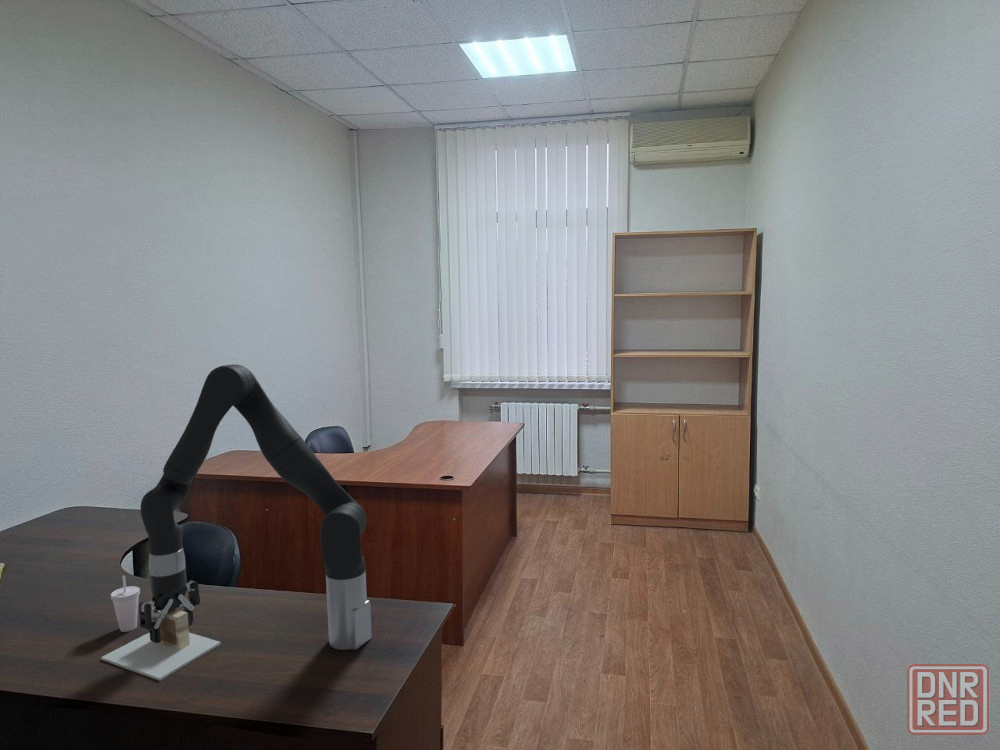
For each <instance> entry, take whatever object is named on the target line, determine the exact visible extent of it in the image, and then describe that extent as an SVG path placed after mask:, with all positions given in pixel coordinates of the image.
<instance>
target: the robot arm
mask: <svg viewBox="0 0 1000 750" xmlns="http://www.w3.org/2000/svg"><path fill="white" fill-rule="evenodd" d="M257 379H258V378H256V376H255V375H254V373H253V372H252V371H251V370H250V369H249V368H247V367H246V366H244V365H242V364H226V365H220V366H217V367H215V368H214V369H212V370H210V372H209V373H208V375H207V376H206V378H205V381H204V383H203V386H202V388H201V390H200V393H199V397H198V400H197V402H196V405H195V408H194V410H193V412H192V414H191V417H190V419H189V421H188V423H187V425H186V427H185V429H184V431H183V433H182V434H181V436H180V438H179V440H178V442H177V443H176V445H175V447H174V448H173V450H172V452H171V453H170V455H169V456H168V458H167V460H166V462H165V464H164V466H163V470H162V472H163V474H162V476H161V478H160V479H159V482H157V484H156V485H155V487H154V488H152V489H151V490H149V491H148V492H147V493H145V494H144V495H143V497H142V498H141V501H140V516H141V519H142V522H143V525H144V529H145V531H146V534H147V535H148V537H147V538H148V541H147V542H148V552H149V554H148V555H149V556H148V569H149V581H150V582H149V583H150V590H151V593H152V598H151V600H149V601H147V602H143V601H142V602H140V603H139V604H138V609H139V610H138V611H139V612H138V613H139V627H140V628H141V629H144V630H147V631H148V633H150V640H151V641H152V642H154V643H159V642H161V636H160V627H159V625H160V623H161V621H162V619H164V618H165V616H166V614H167V613H168V612H170V611H172V610H173V609H176V610H177V609H178V608H180V607H181V608H182V609H183V610H182V611H184V612H187V613H188V626H189V627H191V626H192V625H193V623H194V612H193V611H194V609H195V607H196V606H199V605H200V603H201V598H200V597H201V596H200V590H199V589H200V588H199V582H198V581H196V580H195V581H194V580H190V579H189V580H188V581H187V569H186V568H187V567H186V556H185V551H184V546H183V545H184V544H183V532H182V527H181V526H180V524H178V523H176V521H175V516H174V512H175V511H176V510H177V509H178V508H179V507H180V506H181V505H182V504H183V501H184V500H185V498H186V496H187V494H188V492H189V489H190V488H191V485H192V482H193V480H194V479H195V477H196V476H197V474H198V472H199V471H200V469H201V467H202V465H203V464H204V462H205V460H206V458H207V456H208V454H209V451H210V449H211V446H212V443H213V439H214V437H215V434H216V430H217V429H218V427H219V425H220V423H221V421H223V420H222V419H224V417H226V414H227V413H228V412H229V411H230V409H232V407H234V408H235V409H236V411H238V413H239V414H240V415H241V416H242V417H243V418H244V419H245V421H246V422H247V423H248V425H249V426H250V429H251V430H252V432H253V436H254V437H255V439H256V442H257V444H258V447H259V449H260V452H261V454H262V455H263V457H264V458H265V460H266V461H267V463H268V464H269V465H270V466H271V467H272V469H273V470H274V471H275V472H276V473H277V474H278V475H279V476H280V478H281V479H282V480H283V481H285V483H287V484H289V485H291V486H292V487H294V488H296V490H299V491H300V492H301V493H303V494H305V495H307V496H308V497H309V498H310V499H311V500H312V501H313V502H314V503H315V504H316V506H317V507H318V508H319V509H320V511H321V512H322V513H323V515H324V516H325V517H324V518H323V519H322V522H321V525H320V547H321V548H320V550H321V560H322V564H323V566H324V568H325V583H326V604H327V608H326V609H327V626H328V628H327V630H328V644H329V646H330V647H331V648H333V649H336V650H339V651H340V650H341V651H345V650H348V651H349V650H355V651H357V650H358V649H359V648H361V647H362V646H363V645H364V644H366V643H367V642H368V641H369V640H371V639H372V638H373V637H372V616H371V615H372V612H371V610H372V609H371V601H370V600H368V598H367V597H368V596H367V577H366V576H367V574H366V559H365V558H364V556H363V555H362V545H361V544H362V543H361V542H362V541H361V535H362V534H363V532H364V531H365V529H366V527H367V514H366V512H365V510H364V509H363V507H362V506H361V505H360V504H359V503H358V502H357V501H356V500H355V499H354V498H353V497H352V496H351V495H350V494H349V493H348V492H347V491H346V490H345V489H344V488H343V487H342V486H341V485H340V484H339V483H338V482H337V480H335V478H334V477H333V476H332V474H331V473H330V472H329V470H328V469H327V468H326V466H324V464H323V463H322V462H321V460H320V459H319V458H318V456H317V455H316V454H315V452H314V451H313V450H312V448H311V447H310V445H308V444H307V443H306V441H305V440H304V439H303V438H302V436H301V435H300V434H299V433H298V432H297V430H295V428H294V427H293V426H292V425H291V423H290V422H289V421H288V420H287V418H285V416H284V415H283V413H281V412H280V411H279V409H278V408H277V407H276V406H275V405H274V403H273V402H272V401H271V399H270V398H269V396H268V395H267V393H266V392H265V390H264V388H262V385H261V384H260V382H259V380H257ZM186 594H188V599H187V598H186V597H185V596H186ZM153 607H154V608H153ZM152 608H153V609H152ZM158 610H160V611H161V613H160V614H158ZM151 611H152V612H151ZM156 618H157V619H156ZM155 620H156V621H155Z"/></svg>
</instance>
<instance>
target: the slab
mask: <svg viewBox="0 0 1000 750" xmlns="http://www.w3.org/2000/svg"><path fill="white" fill-rule="evenodd" d="M153 608H154V606H153V607H152V609H153ZM151 612H152V611H151ZM160 613H161V611H160V610H158V614H160ZM156 619H157V618H156ZM155 621H156V620H155ZM159 627H160V636H161V642H159V644H163V645H166V646H169V647H172V648H176V649H179V650H181V649H183V648H185V647H186V646H188V645H190V640H189V633H190V630H189V629H190V628H189V627H190V626H188V613H187V612H184V611H183V610H181V609H177V608H176V609H173V610H172V611H170V612H168V613H167V614H166V616H165V618H164V619H162V621H161V623H160V625H159Z"/></svg>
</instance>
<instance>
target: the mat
mask: <svg viewBox="0 0 1000 750" xmlns="http://www.w3.org/2000/svg"><path fill="white" fill-rule="evenodd" d="M189 640H190V645H188V646H186V647H185V648H183V649H181V650H179V649H176V648H172V647H169V646H166V645H163V644H159V643H154V642H152V641H151V640H150V633H149V632H148V633H146V634H143V635H142V636H140V637H137V638H135V639H134V640H131V641H130V642H128V643H126V644H125V645H122V646H120V647H119V648H116V649H114V650H112V651H110V652H108V653H107V654H105V655H103V656H101V657H100V659H101V660H102V661H104V662H107V663H109V664H112V665H114V666H117V667H121V668H123V669H127V670H128V671H131V672H135V673H137V674H139V675H142V676H146V677H148V678H151V679H152V680H153V679H154V680H157V681H159V682H160V681H163V680H164V679H166V678H167V677H169V676H170V675H173V674H174V673H176V672H178V671H179V670H180V669H181V670H182V669H183V668H184V667H186V666H187V665H189V664H191V663H193V662H194V661H196V660H197V659H199V658H201V657H203V656H205V655H206V654H208V653H209V652H210V651H212V650H214V649H216V648H217V647H219V646H220V645H222V642H221V641H219V640H215V639H212V638H209V637H205V636H202V635H199V634H195V633H194V632H192V633H191V632H189Z"/></svg>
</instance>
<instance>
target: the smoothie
mask: <svg viewBox="0 0 1000 750" xmlns="http://www.w3.org/2000/svg"><path fill="white" fill-rule="evenodd" d="M125 575H126V574H125ZM125 575H122V587H121V588H117V589H116V590H114V591H112V592H111V593H110V600H111V601H112V604H113V607H114V612H115V615H116V619H117V624H118V628H119V631H120V632H122V633H126V632H130V631H133V630H135V629H136V628H137V627H138V613H139V612H138V611H139V610H138V609H139V596H140V594H141V589H140V587H138V586H136V585H129V586H127V584H126V576H125Z"/></svg>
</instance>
